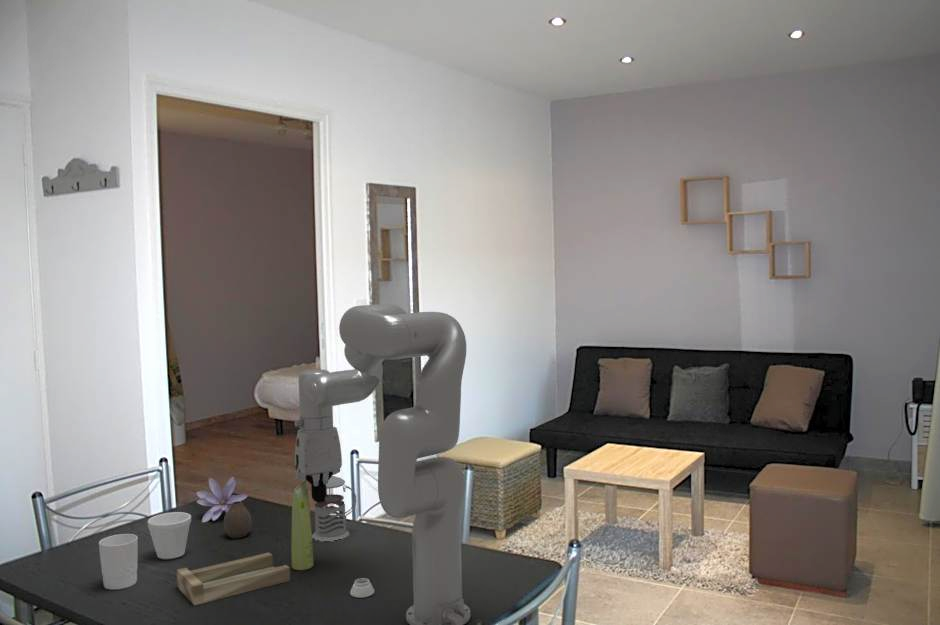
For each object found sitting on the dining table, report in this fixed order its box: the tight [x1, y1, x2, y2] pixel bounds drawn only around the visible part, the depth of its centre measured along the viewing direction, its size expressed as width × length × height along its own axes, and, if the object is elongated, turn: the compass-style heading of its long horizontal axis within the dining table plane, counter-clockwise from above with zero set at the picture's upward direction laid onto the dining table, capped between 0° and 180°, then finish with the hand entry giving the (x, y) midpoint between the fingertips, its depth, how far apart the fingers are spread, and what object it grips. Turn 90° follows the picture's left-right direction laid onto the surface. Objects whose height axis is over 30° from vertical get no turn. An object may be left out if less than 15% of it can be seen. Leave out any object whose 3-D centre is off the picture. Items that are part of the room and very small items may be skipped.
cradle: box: [176, 552, 291, 606], centre depth 180 cm, size 12×21×4 cm, turn 125°
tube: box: [290, 480, 314, 571], centre depth 189 cm, size 6×5×20 cm
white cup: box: [98, 533, 139, 590], centre depth 182 cm, size 8×8×10 cm
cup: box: [147, 511, 192, 561], centre depth 199 cm, size 10×10×9 cm
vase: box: [223, 501, 252, 539], centre depth 212 cm, size 7×7×9 cm
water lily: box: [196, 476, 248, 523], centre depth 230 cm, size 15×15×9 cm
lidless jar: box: [349, 577, 375, 599], centre depth 174 cm, size 5×3×5 cm
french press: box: [312, 475, 357, 542], centre depth 211 cm, size 10×12×25 cm
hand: (319, 500), depth 192 cm, fingers closed
